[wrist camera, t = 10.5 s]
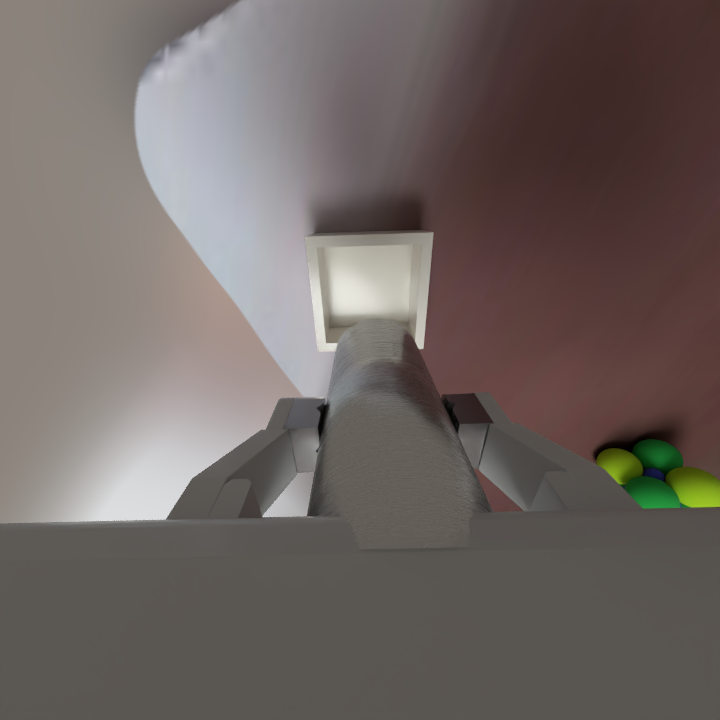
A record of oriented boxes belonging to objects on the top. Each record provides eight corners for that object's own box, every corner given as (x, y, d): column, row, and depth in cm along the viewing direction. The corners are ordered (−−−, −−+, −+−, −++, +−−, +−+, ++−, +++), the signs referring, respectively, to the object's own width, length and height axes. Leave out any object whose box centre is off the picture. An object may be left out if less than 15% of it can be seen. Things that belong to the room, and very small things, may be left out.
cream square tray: (421, 229, 24) (433, 232, 20) (414, 330, 29) (423, 348, 25) (313, 233, 24) (304, 236, 20) (323, 333, 29) (317, 351, 25)
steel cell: (420, 316, 12) (585, 581, 3) (414, 390, 14) (511, 686, 5) (331, 319, 12) (262, 588, 3) (337, 392, 14) (303, 689, 5)
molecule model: (660, 428, 35) (588, 446, 37) (746, 488, 27) (650, 508, 29) (653, 471, 39) (587, 486, 40) (726, 535, 31) (642, 550, 33)
